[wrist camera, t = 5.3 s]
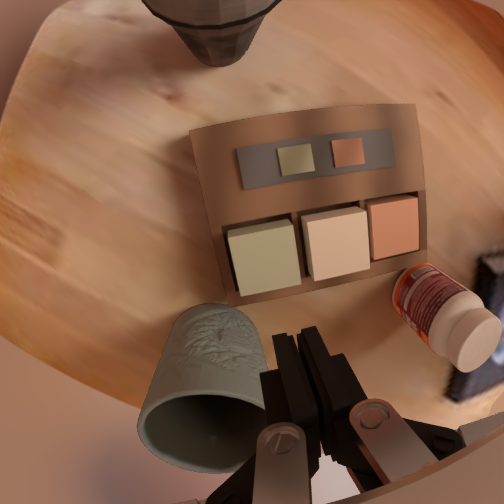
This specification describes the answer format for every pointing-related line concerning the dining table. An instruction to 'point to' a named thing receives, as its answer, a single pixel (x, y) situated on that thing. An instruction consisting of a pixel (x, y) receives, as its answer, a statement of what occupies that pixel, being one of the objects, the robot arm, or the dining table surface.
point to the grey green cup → (206, 392)
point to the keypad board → (308, 178)
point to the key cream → (336, 242)
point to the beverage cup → (214, 25)
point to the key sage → (264, 257)
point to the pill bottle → (446, 316)
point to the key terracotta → (392, 225)
